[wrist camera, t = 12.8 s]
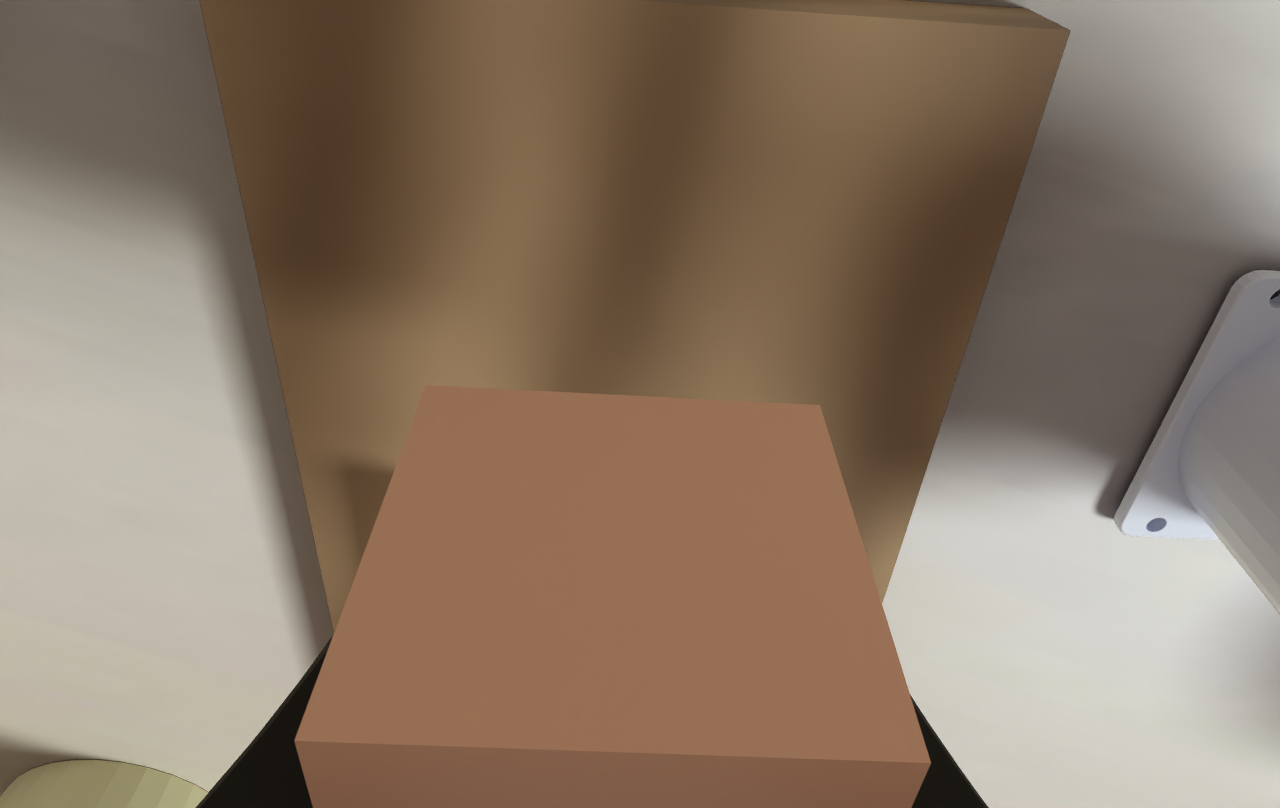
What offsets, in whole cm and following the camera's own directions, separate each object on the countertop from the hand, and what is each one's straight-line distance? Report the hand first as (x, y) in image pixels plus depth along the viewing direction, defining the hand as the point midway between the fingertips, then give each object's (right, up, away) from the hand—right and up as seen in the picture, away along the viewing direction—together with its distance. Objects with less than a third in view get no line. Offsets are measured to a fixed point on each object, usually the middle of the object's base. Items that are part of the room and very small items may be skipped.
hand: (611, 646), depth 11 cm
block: (0, +1, +1) cm, 2 cm away
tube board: (-1, -1, +13) cm, 13 cm away
